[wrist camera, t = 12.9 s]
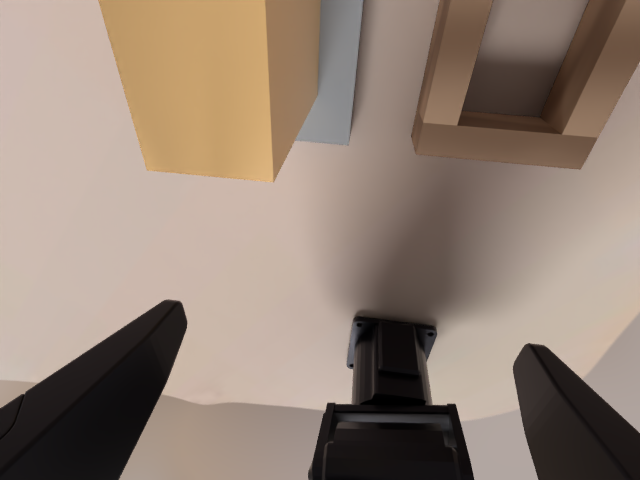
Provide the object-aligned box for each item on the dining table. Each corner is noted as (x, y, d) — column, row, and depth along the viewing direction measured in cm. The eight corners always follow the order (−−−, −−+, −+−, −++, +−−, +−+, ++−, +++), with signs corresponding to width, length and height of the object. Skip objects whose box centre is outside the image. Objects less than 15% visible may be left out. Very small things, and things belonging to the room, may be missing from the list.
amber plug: (317, 96, 16) (273, 182, 9) (245, 90, 16) (146, 170, 9) (321, -24, 13) (263, -37, 6) (235, -28, 14) (84, -46, 7)
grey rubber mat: (350, 135, 19) (348, 145, 17) (225, 124, 19) (215, 133, 18) (373, -93, 13) (373, -101, 12) (198, -100, 14) (182, -109, 13)
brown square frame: (557, 149, 18) (580, 169, 16) (411, 136, 18) (415, 154, 16) (663, -72, 13) (718, -83, 11) (456, -81, 13) (472, -93, 11)
